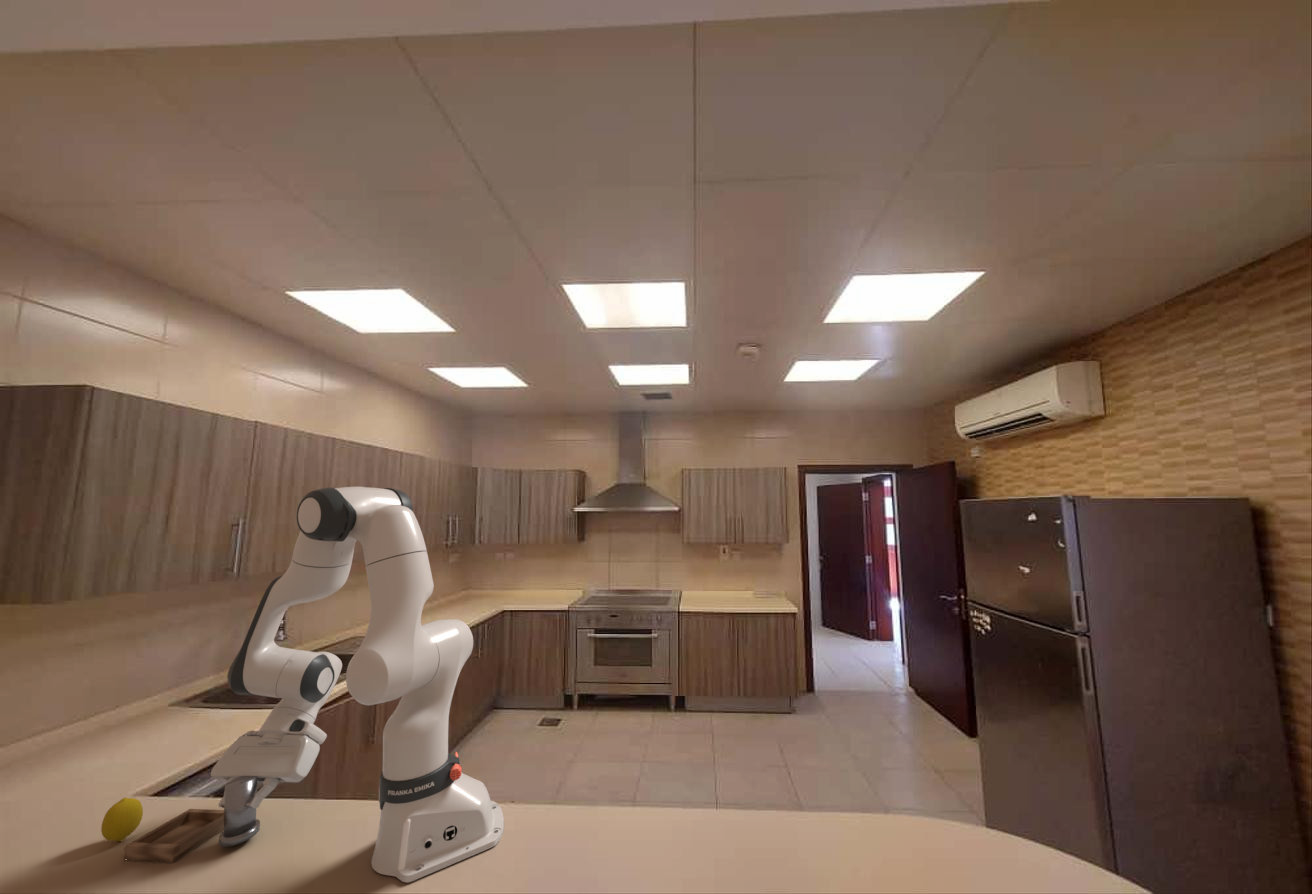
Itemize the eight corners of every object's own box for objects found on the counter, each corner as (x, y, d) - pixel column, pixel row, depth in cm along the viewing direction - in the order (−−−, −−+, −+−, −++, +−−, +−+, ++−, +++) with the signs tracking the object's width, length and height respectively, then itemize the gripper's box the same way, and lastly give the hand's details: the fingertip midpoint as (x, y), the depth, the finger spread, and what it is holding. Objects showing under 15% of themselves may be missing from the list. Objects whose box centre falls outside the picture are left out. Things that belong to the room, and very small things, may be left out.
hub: (264, 822, 96) (266, 769, 97) (252, 840, 91) (253, 783, 92) (227, 831, 94) (229, 777, 95) (212, 850, 88) (214, 793, 90)
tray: (234, 823, 98) (234, 810, 99) (172, 863, 88) (173, 848, 88) (189, 821, 100) (190, 808, 100) (123, 860, 89) (124, 845, 90)
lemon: (95, 846, 94) (98, 802, 95) (135, 829, 99) (138, 787, 100) (105, 854, 91) (108, 809, 92) (146, 836, 96) (148, 793, 97)
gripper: (233, 724, 103) (180, 801, 92) (316, 723, 100) (271, 802, 89) (253, 736, 107) (204, 811, 96) (334, 735, 104) (292, 813, 93)
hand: (237, 807), depth 92 cm, fingers closed on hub, 5 cm apart
